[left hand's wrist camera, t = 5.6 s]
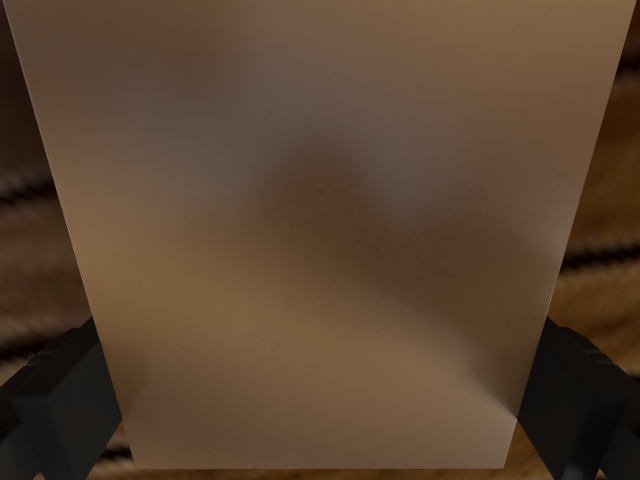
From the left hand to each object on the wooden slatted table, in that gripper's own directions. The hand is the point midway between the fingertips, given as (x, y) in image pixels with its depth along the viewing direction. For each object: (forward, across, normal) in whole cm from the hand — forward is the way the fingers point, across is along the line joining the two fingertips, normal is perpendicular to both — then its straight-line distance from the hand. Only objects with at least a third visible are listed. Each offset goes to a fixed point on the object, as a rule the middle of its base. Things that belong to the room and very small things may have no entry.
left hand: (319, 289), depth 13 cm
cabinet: (+4, 0, -7) cm, 8 cm away
